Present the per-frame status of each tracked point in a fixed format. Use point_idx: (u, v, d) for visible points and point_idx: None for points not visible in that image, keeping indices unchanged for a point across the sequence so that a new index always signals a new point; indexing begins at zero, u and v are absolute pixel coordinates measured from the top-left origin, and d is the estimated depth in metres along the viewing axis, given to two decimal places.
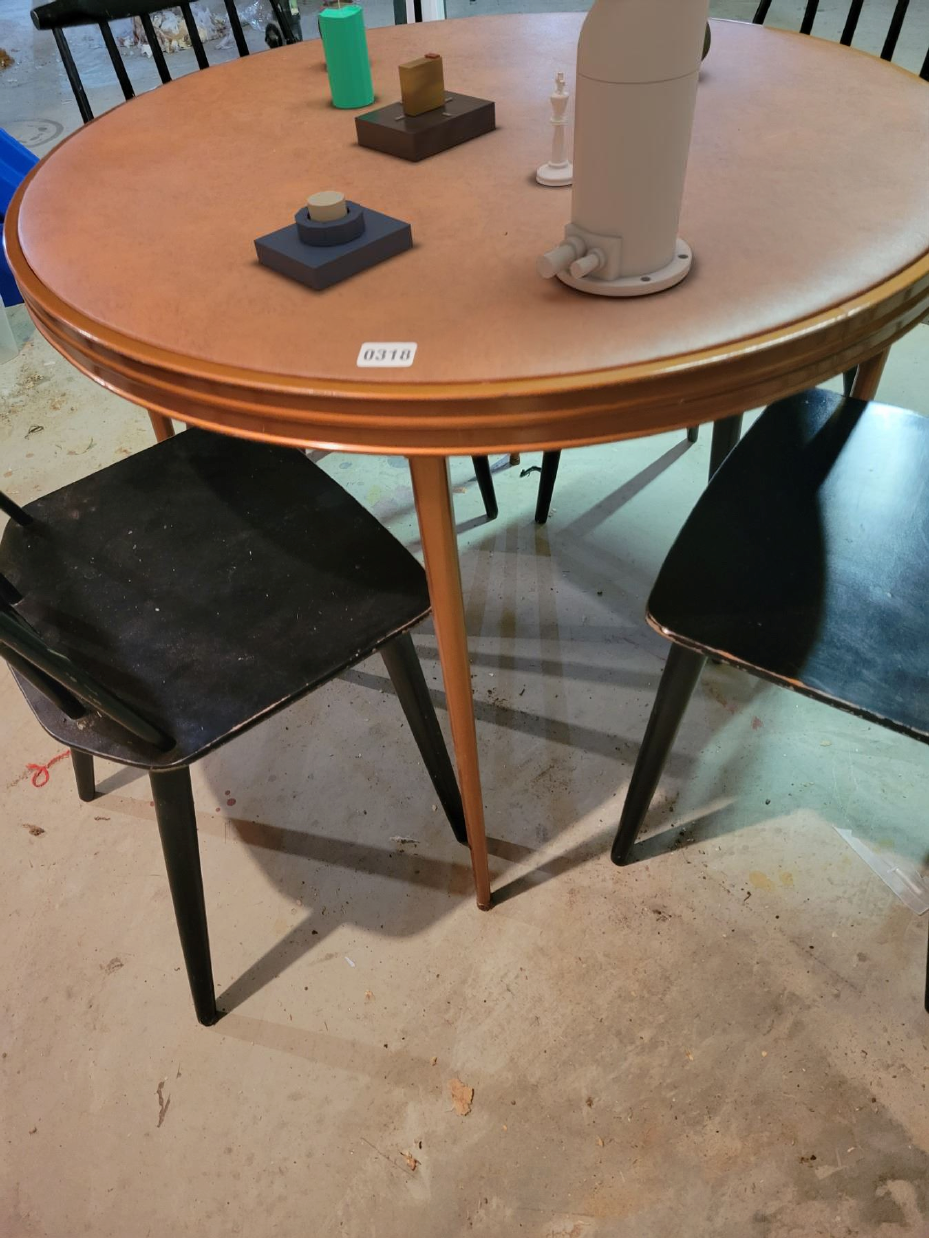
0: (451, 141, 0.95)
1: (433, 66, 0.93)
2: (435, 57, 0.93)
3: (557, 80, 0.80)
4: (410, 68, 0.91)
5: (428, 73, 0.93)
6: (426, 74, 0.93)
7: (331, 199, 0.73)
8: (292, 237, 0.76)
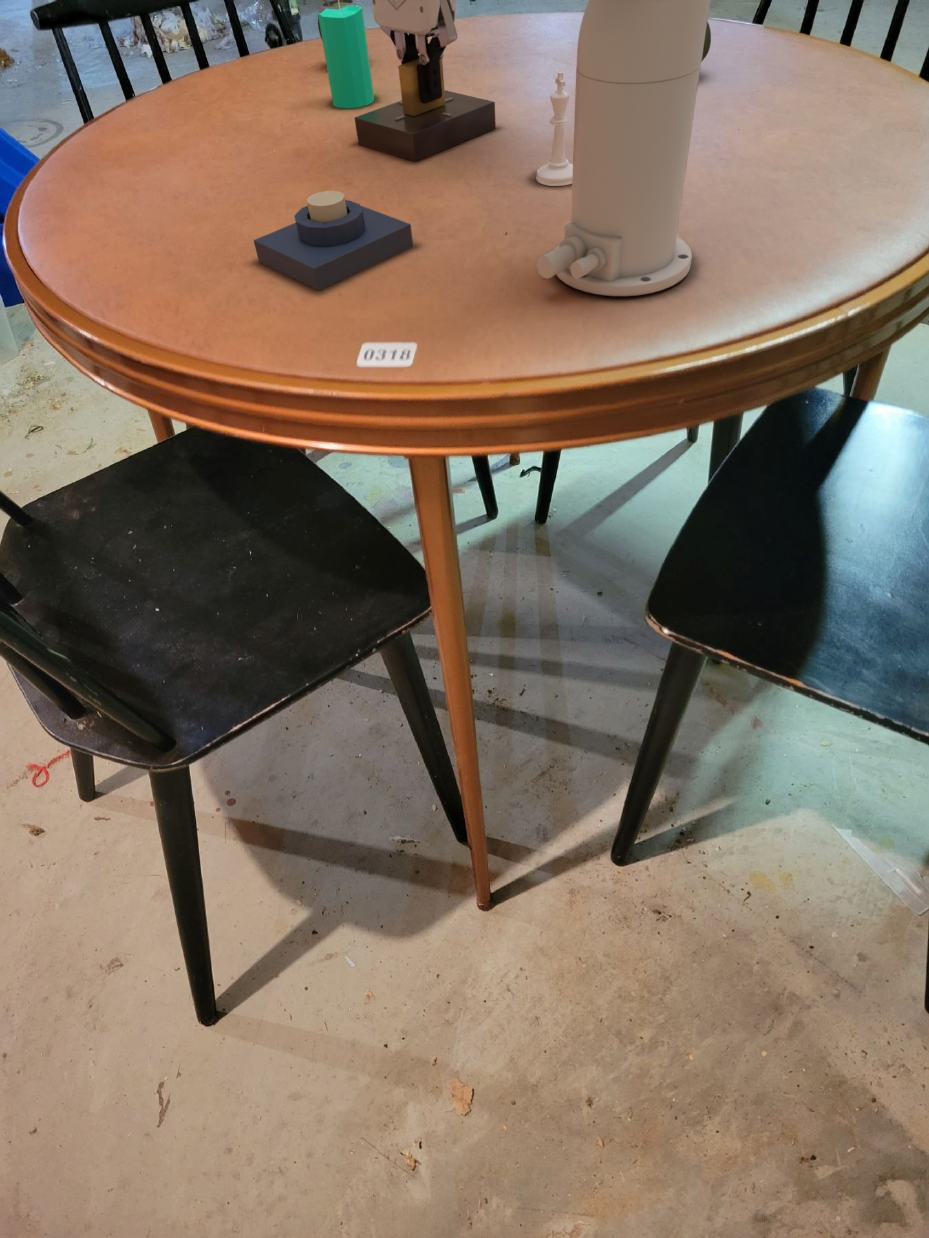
0: (451, 141, 0.95)
1: None
2: None
3: (557, 80, 0.80)
4: (410, 68, 0.91)
5: None
6: None
7: (331, 199, 0.73)
8: (292, 237, 0.76)
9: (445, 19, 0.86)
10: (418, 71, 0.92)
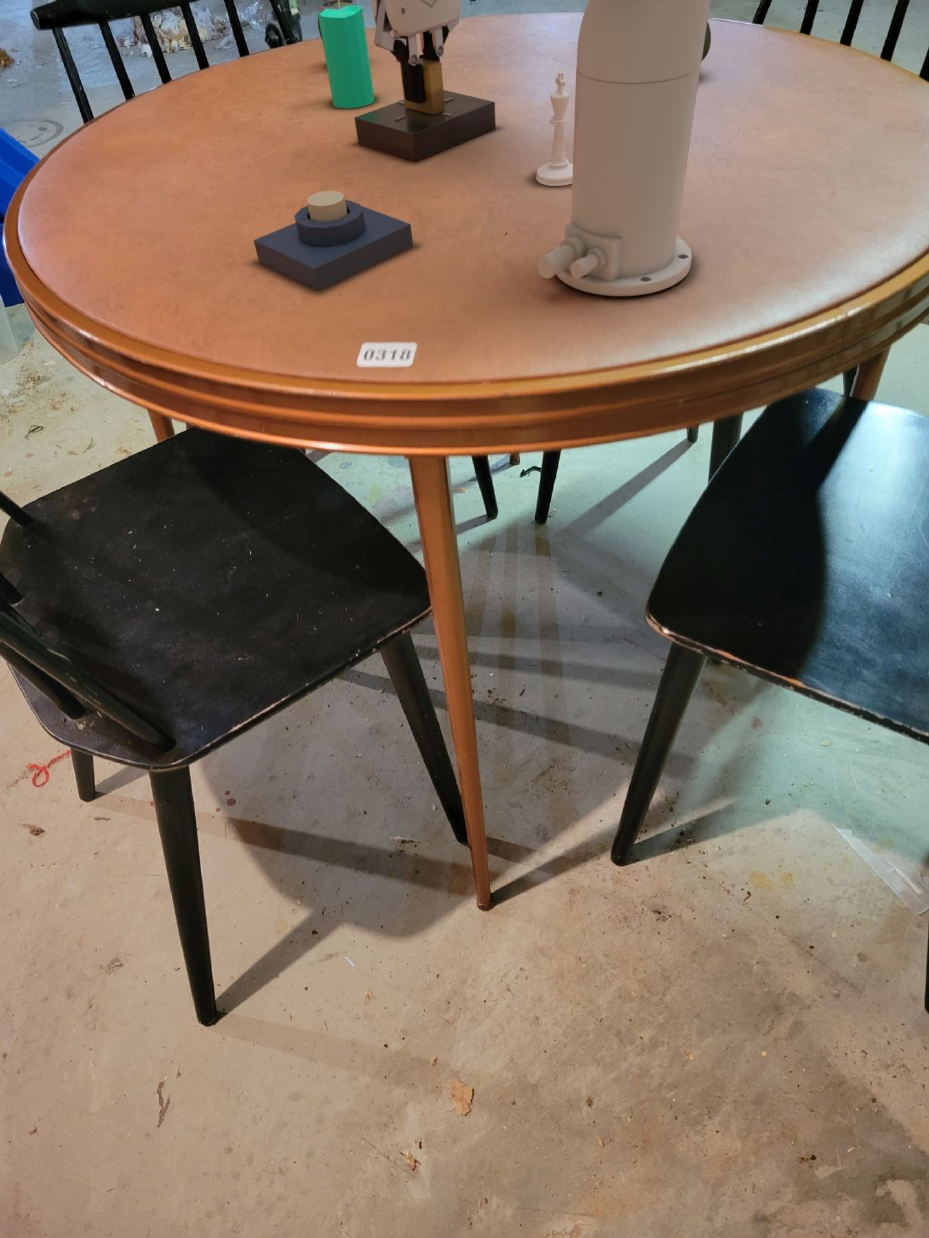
0: (451, 141, 0.95)
1: None
2: None
3: (557, 80, 0.80)
4: (440, 63, 0.92)
5: None
6: None
7: (331, 199, 0.73)
8: (292, 237, 0.76)
9: None
10: None
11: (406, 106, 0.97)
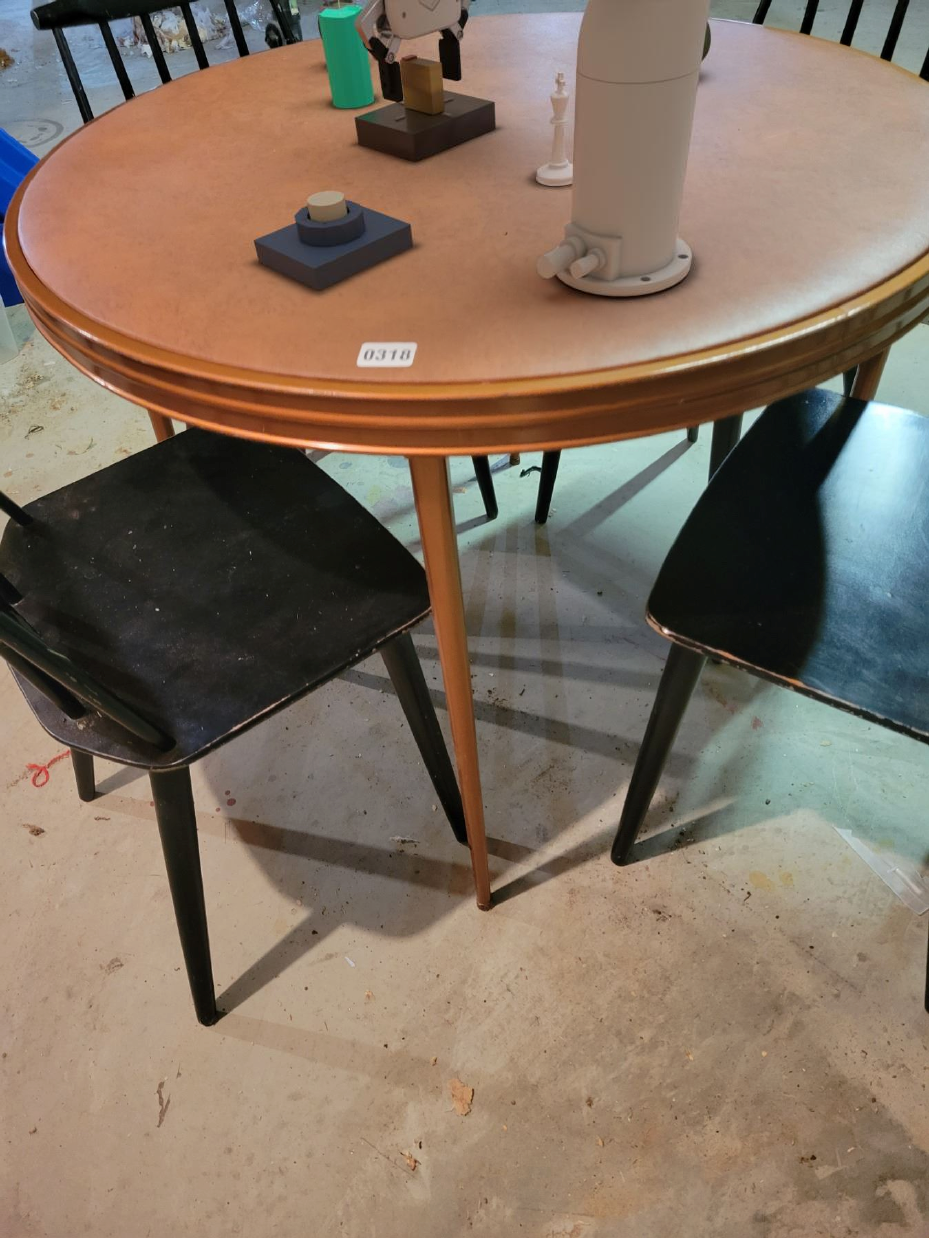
0: (451, 141, 0.95)
1: None
2: None
3: (557, 80, 0.80)
4: (440, 63, 0.92)
5: None
6: None
7: (331, 199, 0.73)
8: (292, 237, 0.76)
9: None
10: (457, 49, 0.94)
11: (406, 106, 0.97)
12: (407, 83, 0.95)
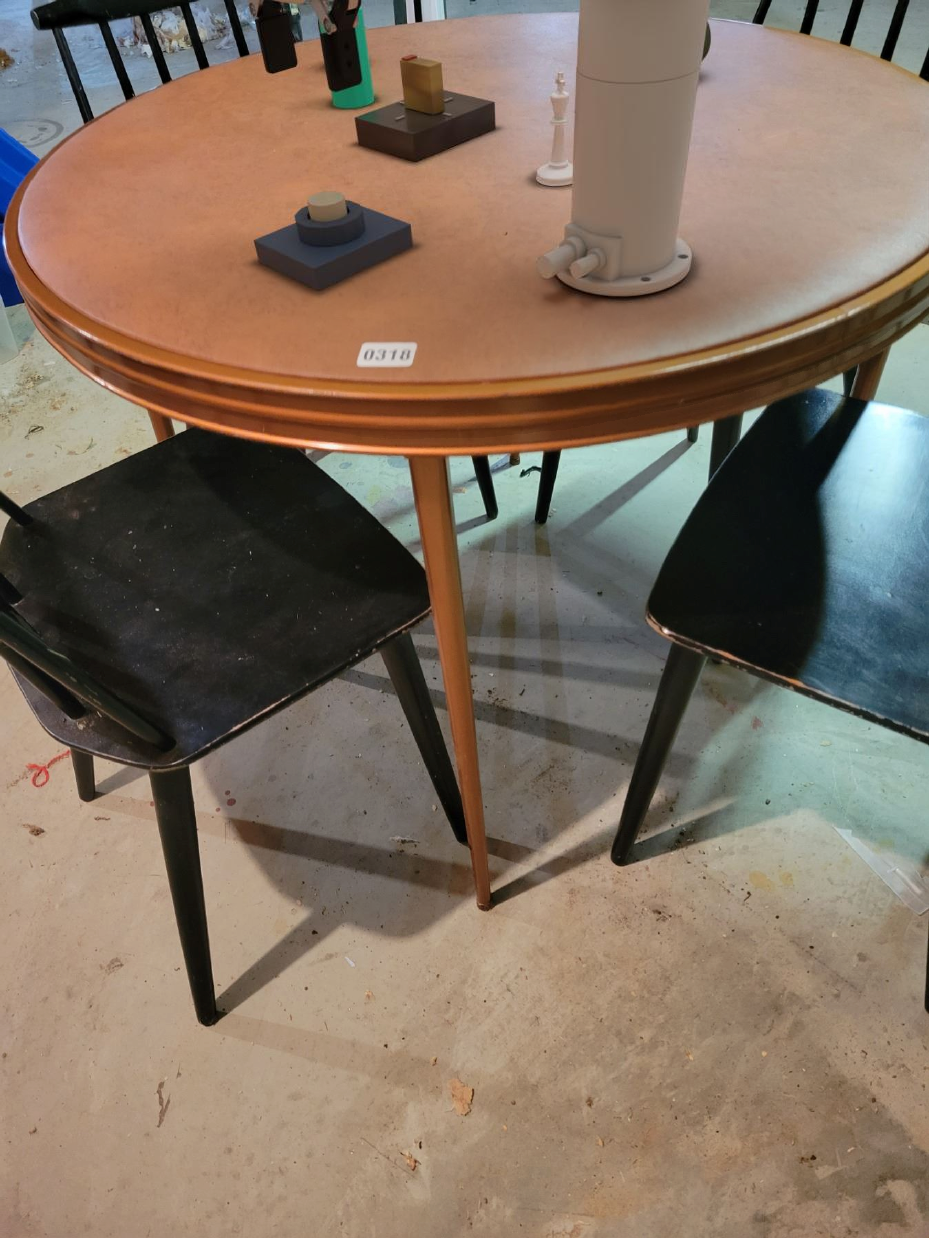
0: (451, 141, 0.95)
1: None
2: None
3: (557, 80, 0.80)
4: (440, 63, 0.92)
5: None
6: None
7: (331, 199, 0.73)
8: (292, 237, 0.76)
9: None
10: (322, 44, 0.62)
11: (406, 106, 0.97)
12: (407, 83, 0.95)
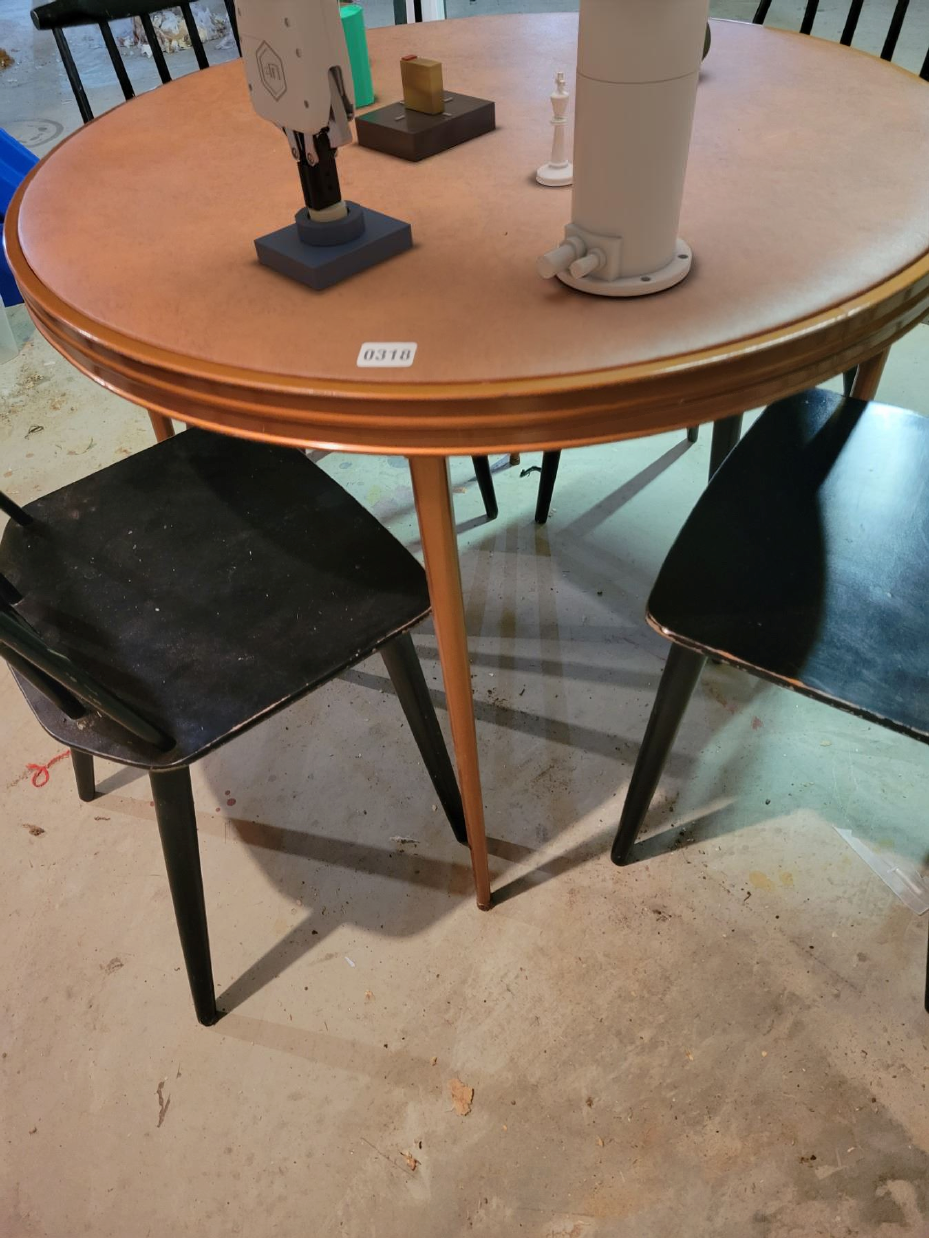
0: (451, 141, 0.95)
1: None
2: None
3: (557, 80, 0.80)
4: (440, 63, 0.92)
5: None
6: None
7: (332, 206, 0.74)
8: (292, 237, 0.76)
9: (336, 118, 0.65)
10: (306, 172, 0.71)
11: (406, 106, 0.97)
12: (407, 83, 0.95)
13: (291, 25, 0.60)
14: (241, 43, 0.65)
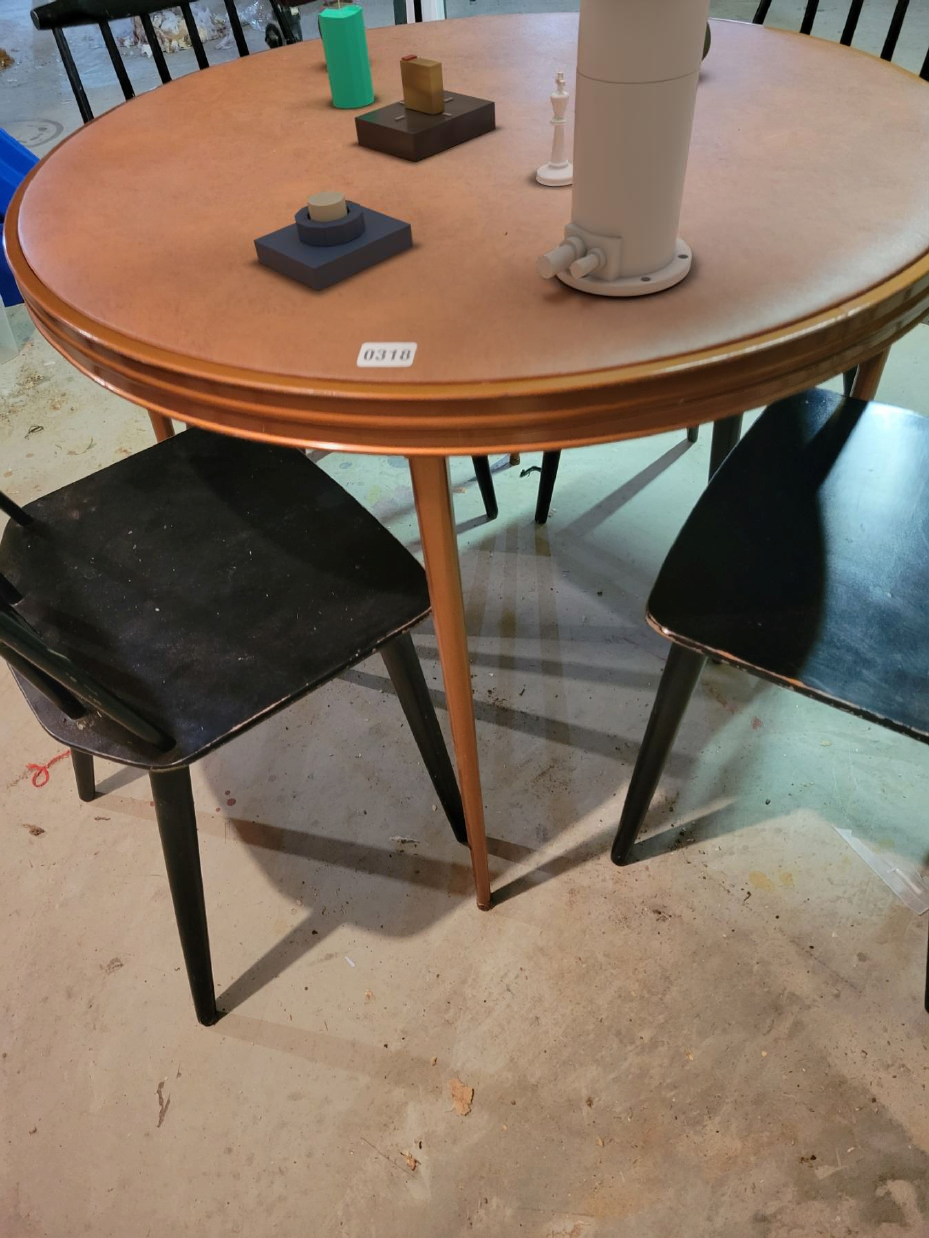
0: (451, 141, 0.95)
1: None
2: None
3: (557, 80, 0.80)
4: (440, 63, 0.92)
5: None
6: None
7: (331, 199, 0.73)
8: (292, 237, 0.76)
9: None
10: None
11: (406, 106, 0.97)
12: (407, 83, 0.95)
13: None
14: None
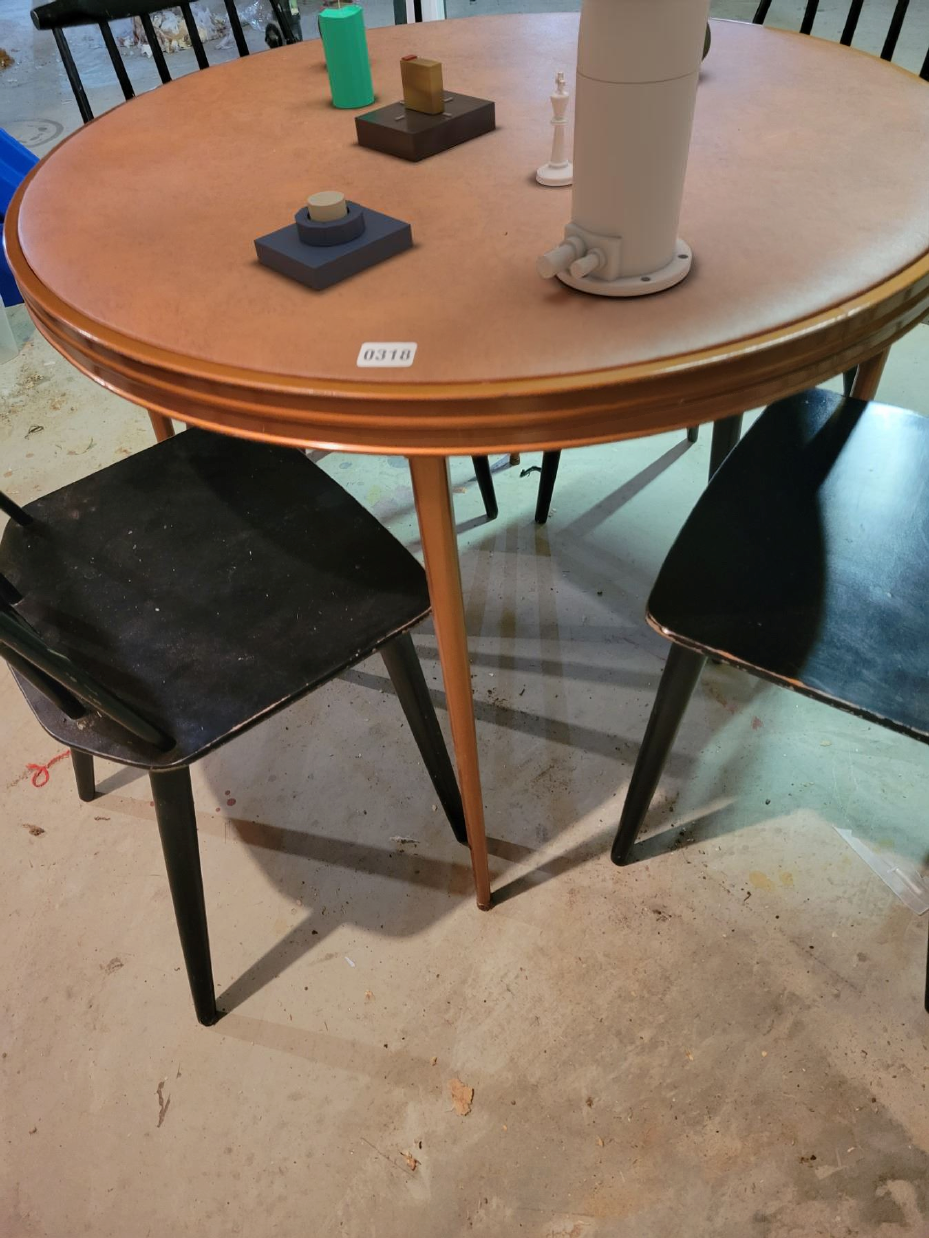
0: (451, 141, 0.95)
1: None
2: None
3: (557, 80, 0.80)
4: (440, 63, 0.92)
5: None
6: None
7: (331, 199, 0.73)
8: (292, 237, 0.76)
9: None
10: None
11: (406, 106, 0.97)
12: (407, 83, 0.95)
13: None
14: None
